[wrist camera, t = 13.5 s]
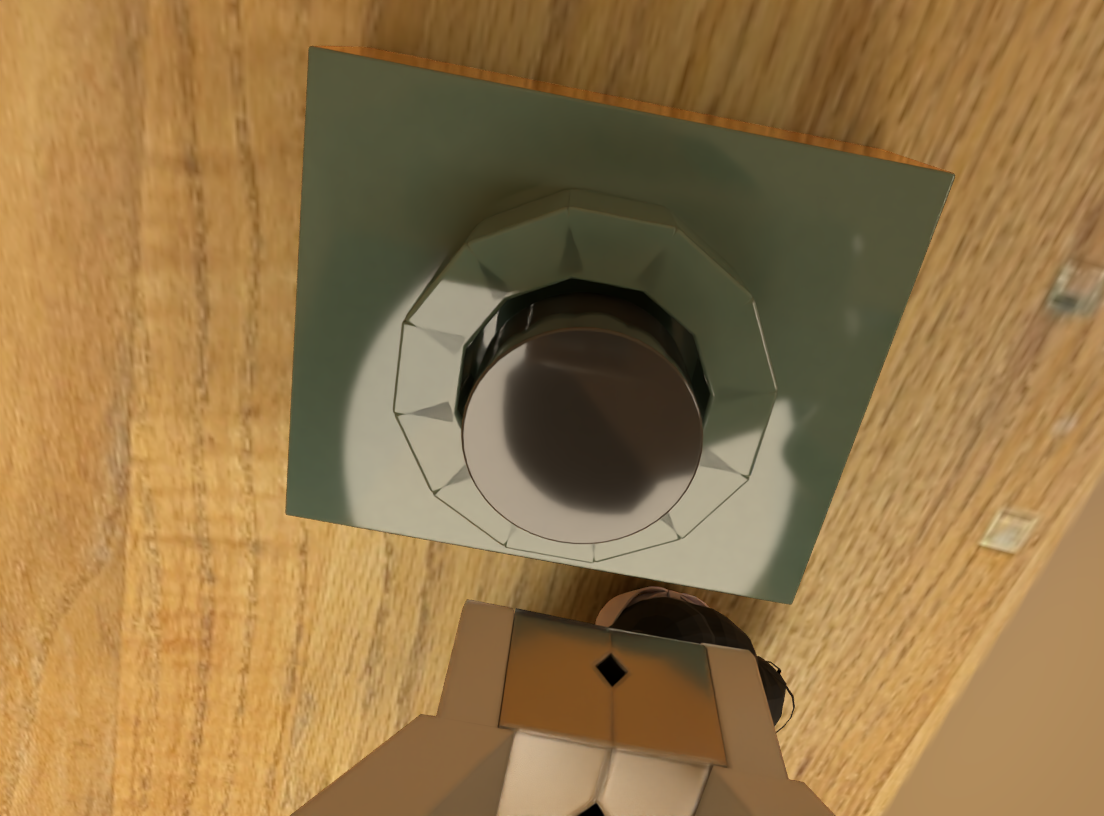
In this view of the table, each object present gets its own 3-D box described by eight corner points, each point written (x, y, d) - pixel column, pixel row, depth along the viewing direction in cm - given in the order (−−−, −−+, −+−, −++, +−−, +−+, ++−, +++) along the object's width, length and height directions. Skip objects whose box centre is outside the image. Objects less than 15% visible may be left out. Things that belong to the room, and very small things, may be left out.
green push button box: (884, 149, 18) (1010, 190, 13) (759, 515, 22) (814, 666, 17) (365, 46, 18) (266, 43, 12) (335, 438, 22) (250, 567, 16)
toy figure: (568, 892, 30) (813, 626, 23) (536, 1089, 24) (848, 808, 18) (400, 801, 29) (601, 506, 23) (326, 978, 24) (567, 651, 17)
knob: (713, 314, 14) (732, 353, 12) (661, 503, 16) (670, 563, 14) (493, 271, 14) (478, 305, 12) (463, 467, 16) (446, 523, 14)
